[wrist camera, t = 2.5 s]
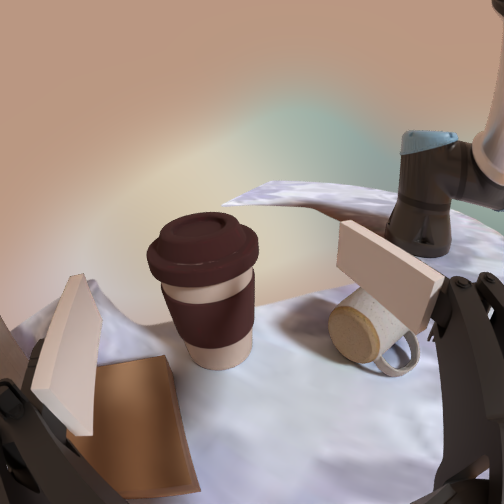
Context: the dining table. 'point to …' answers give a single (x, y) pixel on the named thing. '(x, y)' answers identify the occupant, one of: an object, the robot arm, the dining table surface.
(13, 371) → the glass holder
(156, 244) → the coffee cup
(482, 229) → the dining table surface
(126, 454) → the walnut slab
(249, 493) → the dining table surface
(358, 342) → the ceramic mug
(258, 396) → the dining table surface
